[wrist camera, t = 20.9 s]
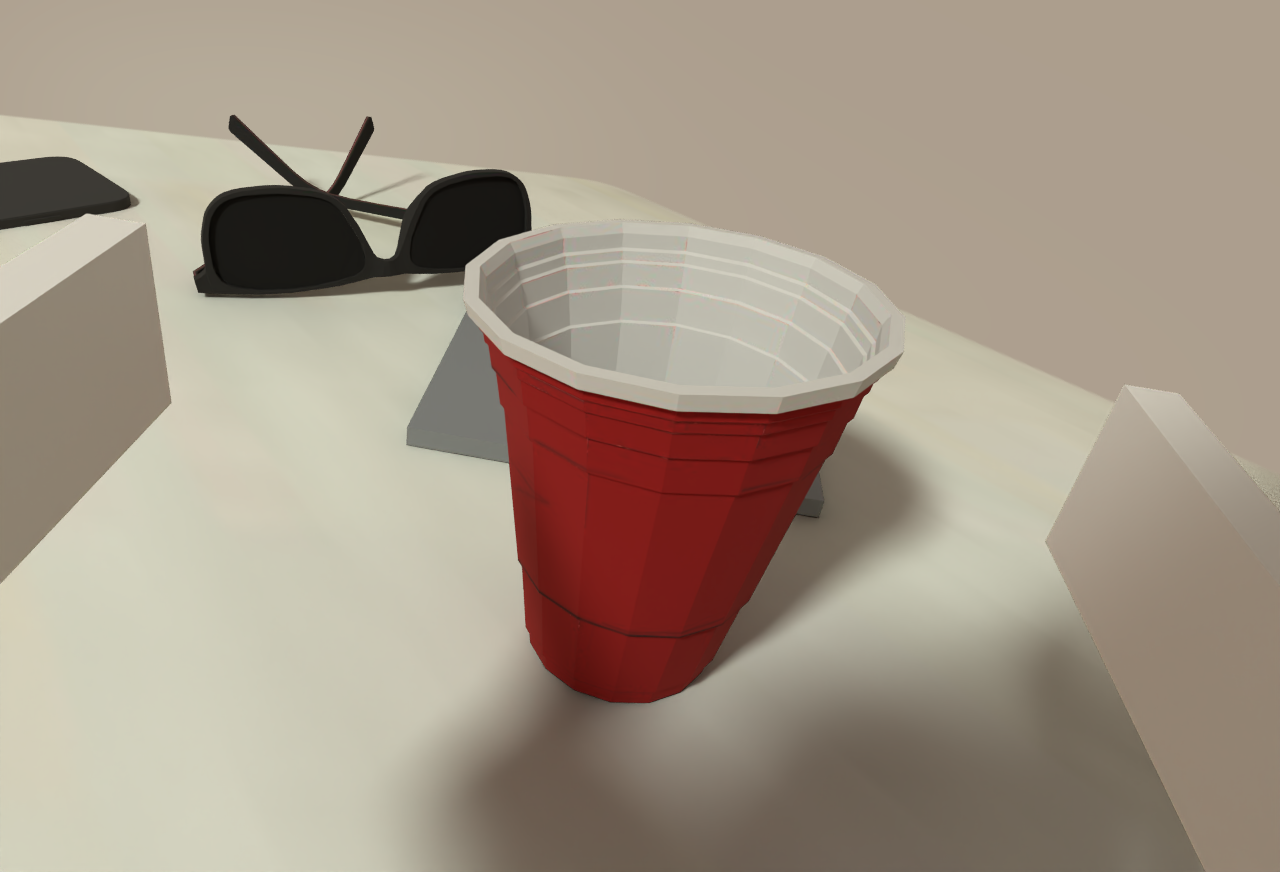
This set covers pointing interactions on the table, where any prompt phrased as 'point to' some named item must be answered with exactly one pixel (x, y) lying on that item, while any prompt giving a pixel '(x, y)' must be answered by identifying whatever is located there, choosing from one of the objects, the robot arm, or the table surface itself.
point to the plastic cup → (664, 427)
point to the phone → (54, 191)
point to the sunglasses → (348, 227)
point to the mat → (486, 408)
